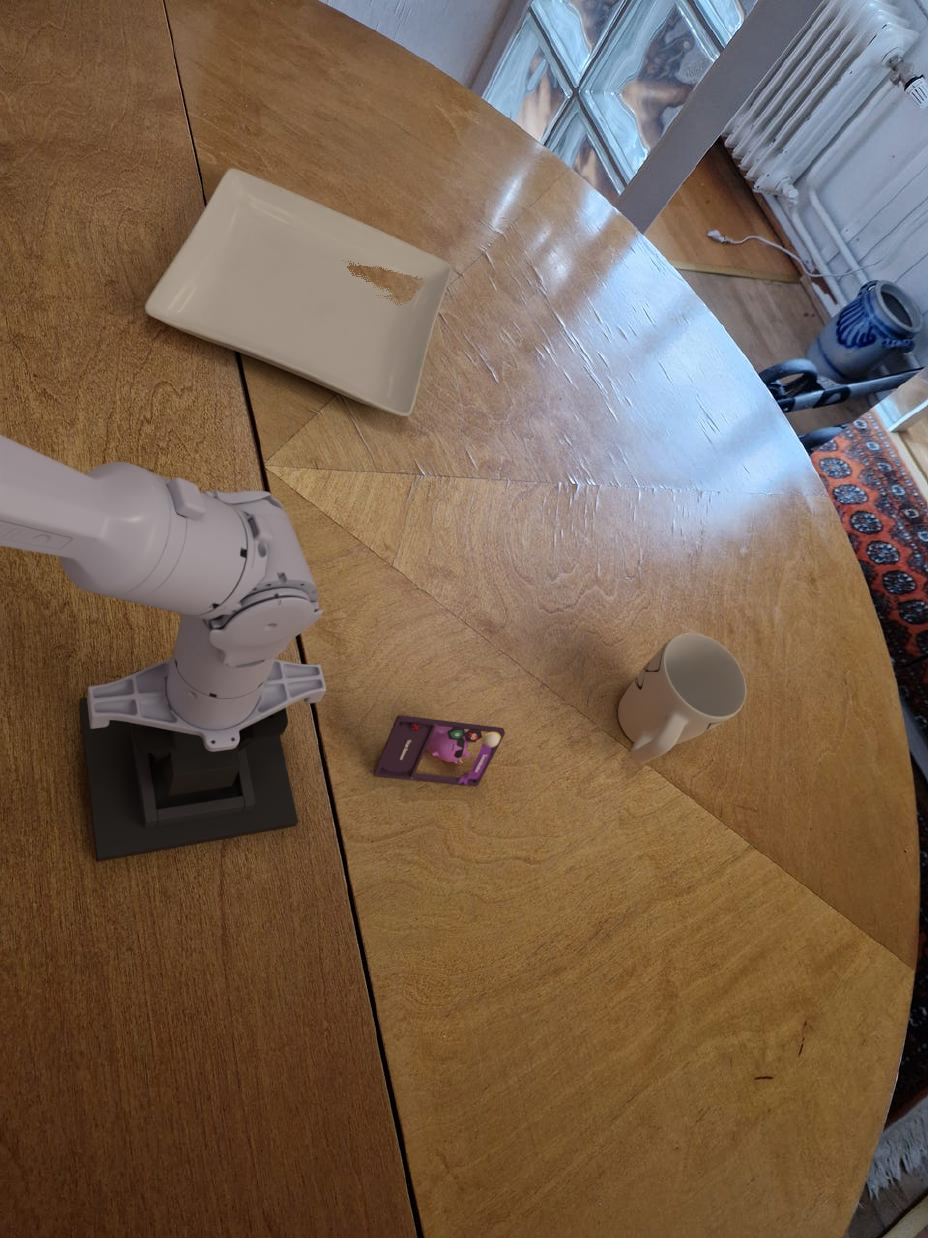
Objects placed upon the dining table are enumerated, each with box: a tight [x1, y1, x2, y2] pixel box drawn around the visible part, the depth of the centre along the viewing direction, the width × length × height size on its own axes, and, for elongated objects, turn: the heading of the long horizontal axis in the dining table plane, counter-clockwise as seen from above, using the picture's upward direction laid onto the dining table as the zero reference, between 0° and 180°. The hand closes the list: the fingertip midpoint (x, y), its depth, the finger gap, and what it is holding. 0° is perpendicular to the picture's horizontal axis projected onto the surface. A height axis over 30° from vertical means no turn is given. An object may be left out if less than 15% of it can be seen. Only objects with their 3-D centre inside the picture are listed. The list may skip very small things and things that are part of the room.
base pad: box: [78, 697, 299, 862], centre depth 66 cm, size 14×12×2 cm
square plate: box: [144, 167, 453, 417], centre depth 95 cm, size 27×27×4 cm
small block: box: [162, 731, 241, 796], centre depth 63 cm, size 4×6×4 cm
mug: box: [617, 631, 747, 765], centre depth 80 cm, size 11×8×10 cm
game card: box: [374, 714, 506, 787], centre depth 73 cm, size 7×5×9 cm
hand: (195, 744), depth 63 cm, fingers closed on small block, 4 cm apart
